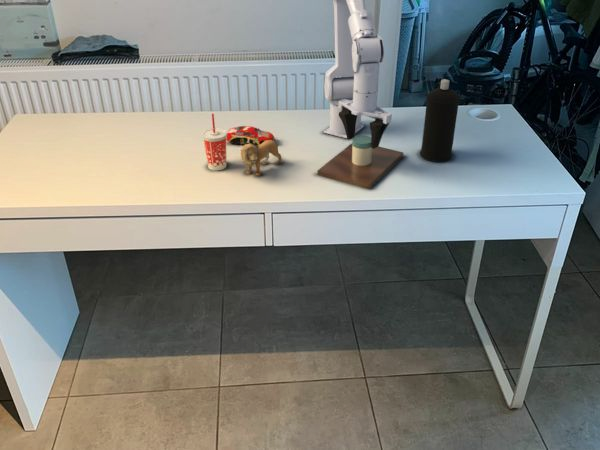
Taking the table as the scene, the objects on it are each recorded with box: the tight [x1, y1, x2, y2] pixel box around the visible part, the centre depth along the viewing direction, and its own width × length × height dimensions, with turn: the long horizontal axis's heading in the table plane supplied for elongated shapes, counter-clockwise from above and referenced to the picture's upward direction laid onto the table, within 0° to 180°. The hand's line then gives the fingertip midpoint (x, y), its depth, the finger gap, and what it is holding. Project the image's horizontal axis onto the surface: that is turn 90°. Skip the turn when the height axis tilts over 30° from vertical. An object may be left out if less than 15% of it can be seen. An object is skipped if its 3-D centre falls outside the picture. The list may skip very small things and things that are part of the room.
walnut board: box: [317, 143, 404, 190], centre depth 155 cm, size 20×14×1 cm
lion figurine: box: [240, 140, 282, 177], centre depth 151 cm, size 15×5×9 cm, turn 150°
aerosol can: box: [419, 78, 461, 163], centre depth 154 cm, size 8×8×20 cm
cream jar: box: [351, 134, 373, 166], centre depth 153 cm, size 5×5×6 cm
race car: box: [226, 125, 276, 146], centre depth 166 cm, size 13×5×4 cm, turn 76°
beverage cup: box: [201, 113, 228, 171], centre depth 151 cm, size 6×6×14 cm
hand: (362, 142), depth 152 cm, fingers open, 7 cm apart
